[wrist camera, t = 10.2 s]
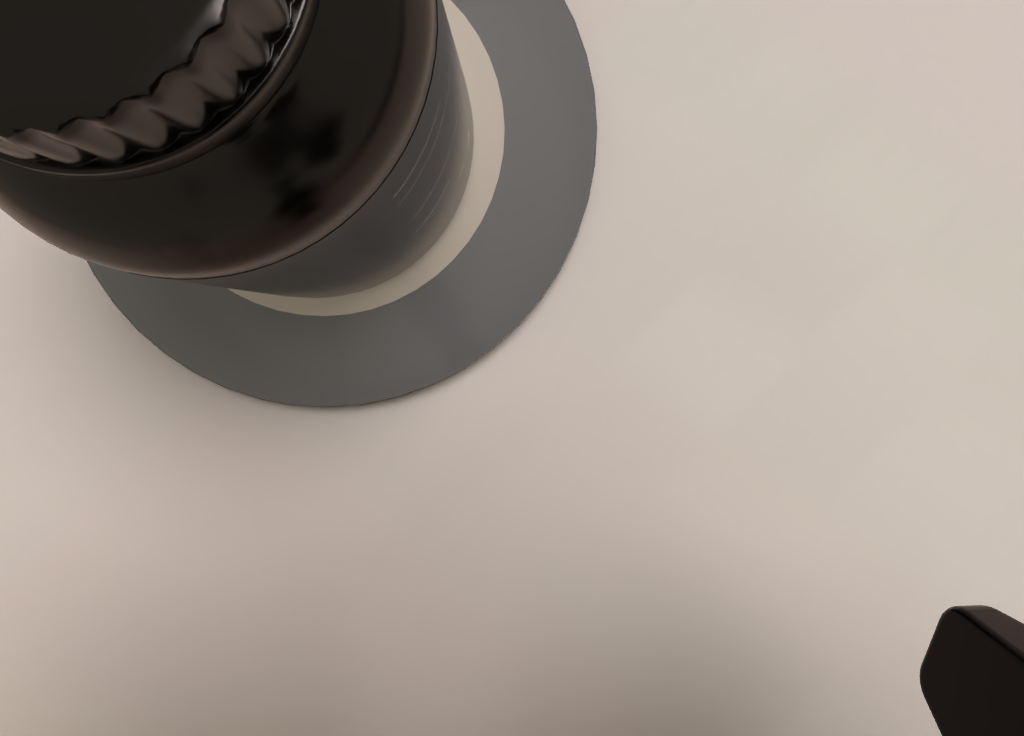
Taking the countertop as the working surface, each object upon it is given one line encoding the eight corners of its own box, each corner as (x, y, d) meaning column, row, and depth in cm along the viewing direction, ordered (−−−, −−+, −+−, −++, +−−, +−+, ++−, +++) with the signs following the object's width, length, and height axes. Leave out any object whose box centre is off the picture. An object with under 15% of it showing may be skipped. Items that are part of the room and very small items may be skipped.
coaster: (705, 181, 20) (710, 175, 20) (288, 510, 21) (279, 516, 20) (371, -242, 20) (365, -263, 20) (-36, 99, 21) (-56, 91, 20)
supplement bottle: (160, 291, 20) (-401, 219, 8) (180, -21, 20) (-365, -556, 8) (469, 315, 20) (347, 274, 8) (493, -2, 20) (406, -526, 8)
